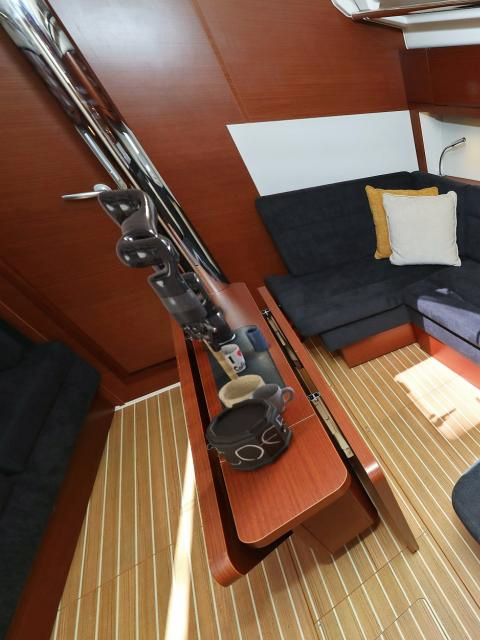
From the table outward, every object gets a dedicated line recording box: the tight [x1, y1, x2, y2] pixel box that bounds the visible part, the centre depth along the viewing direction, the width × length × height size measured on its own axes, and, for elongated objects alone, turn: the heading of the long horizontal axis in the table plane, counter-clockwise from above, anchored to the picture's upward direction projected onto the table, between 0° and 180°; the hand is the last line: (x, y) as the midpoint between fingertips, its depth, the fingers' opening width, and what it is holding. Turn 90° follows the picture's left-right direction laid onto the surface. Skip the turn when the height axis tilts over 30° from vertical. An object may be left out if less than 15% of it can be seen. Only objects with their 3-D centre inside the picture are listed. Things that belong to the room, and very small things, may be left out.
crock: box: [244, 326, 270, 353], centre depth 145 cm, size 5×5×10 cm
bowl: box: [218, 374, 267, 408], centre depth 120 cm, size 13×13×7 cm
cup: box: [221, 343, 246, 374], centre depth 133 cm, size 8×8×10 cm
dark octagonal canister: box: [205, 399, 293, 471], centre depth 101 cm, size 18×18×16 cm
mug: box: [250, 383, 295, 415], centre depth 116 cm, size 12×9×10 cm
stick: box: [203, 337, 240, 381], centre depth 110 cm, size 2×2×18 cm
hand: (215, 350), depth 108 cm, fingers closed on stick, 2 cm apart
